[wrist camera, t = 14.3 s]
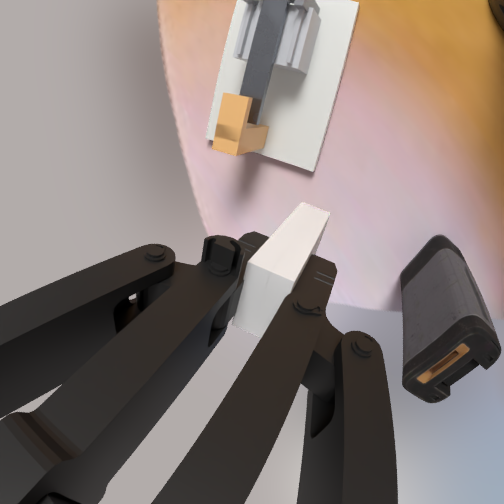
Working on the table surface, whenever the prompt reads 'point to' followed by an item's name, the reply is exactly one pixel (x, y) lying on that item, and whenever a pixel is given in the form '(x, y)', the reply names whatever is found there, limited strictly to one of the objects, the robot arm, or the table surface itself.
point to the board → (292, 74)
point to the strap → (263, 55)
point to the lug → (237, 127)
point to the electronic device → (443, 322)
